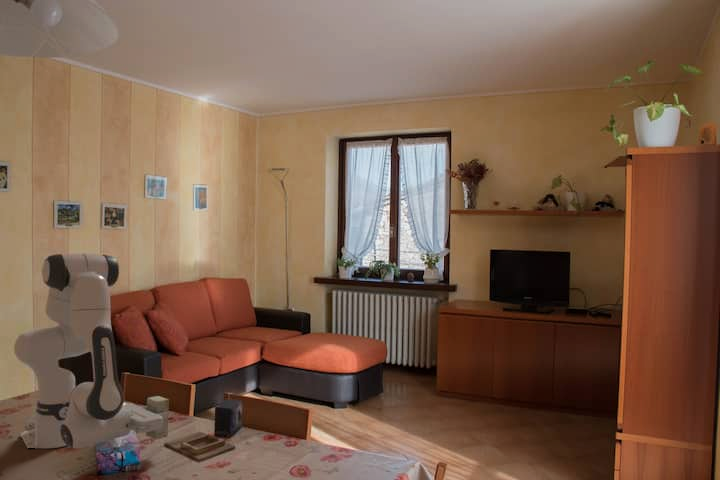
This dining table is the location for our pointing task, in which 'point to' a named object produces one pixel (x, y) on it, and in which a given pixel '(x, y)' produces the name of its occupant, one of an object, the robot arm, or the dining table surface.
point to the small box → (228, 417)
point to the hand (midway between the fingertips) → (160, 411)
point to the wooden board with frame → (200, 445)
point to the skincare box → (157, 406)
